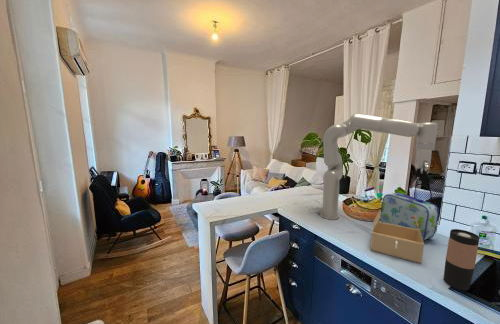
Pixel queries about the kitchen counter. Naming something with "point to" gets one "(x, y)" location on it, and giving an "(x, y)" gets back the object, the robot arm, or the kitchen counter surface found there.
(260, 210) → the kitchen counter surface
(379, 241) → the carton
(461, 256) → the travel mug
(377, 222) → the left flap
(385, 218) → the lunch box
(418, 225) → the right flap
